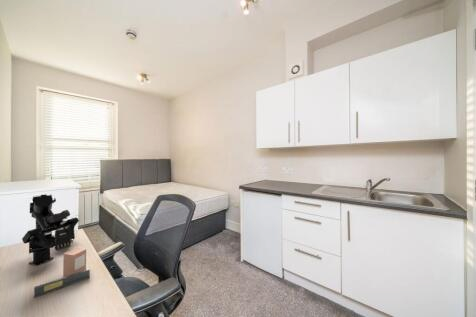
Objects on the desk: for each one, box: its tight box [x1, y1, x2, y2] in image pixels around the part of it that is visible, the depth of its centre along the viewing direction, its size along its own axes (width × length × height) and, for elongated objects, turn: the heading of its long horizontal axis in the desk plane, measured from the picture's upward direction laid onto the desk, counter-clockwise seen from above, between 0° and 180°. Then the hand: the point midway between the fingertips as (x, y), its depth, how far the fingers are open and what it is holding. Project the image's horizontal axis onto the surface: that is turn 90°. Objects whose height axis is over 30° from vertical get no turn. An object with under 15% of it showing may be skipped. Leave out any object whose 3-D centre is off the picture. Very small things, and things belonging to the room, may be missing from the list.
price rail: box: [33, 268, 91, 299], centre depth 73 cm, size 2×16×4 cm, turn 136°
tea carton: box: [62, 247, 87, 277], centre depth 81 cm, size 6×6×10 cm
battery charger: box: [54, 228, 72, 250], centre depth 104 cm, size 7×4×11 cm, turn 140°
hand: (62, 243), depth 82 cm, fingers open, 9 cm apart
